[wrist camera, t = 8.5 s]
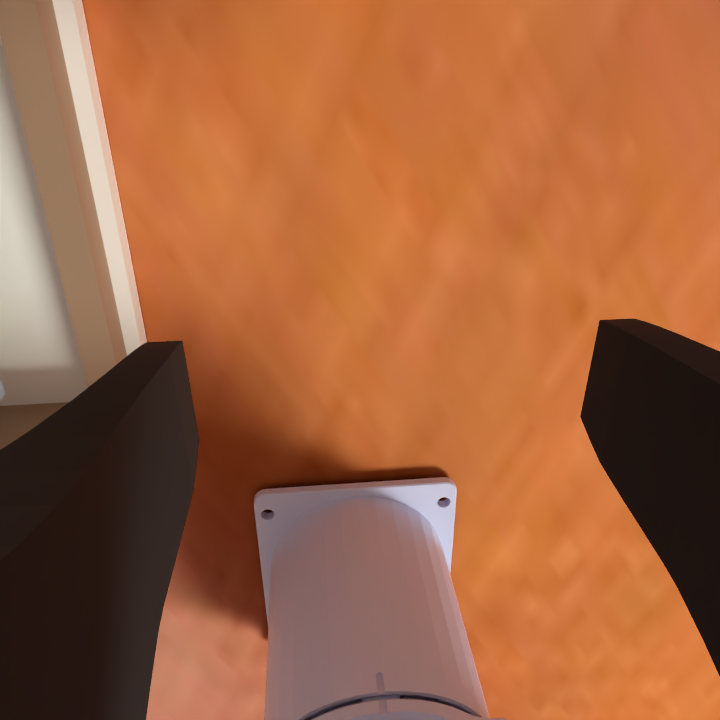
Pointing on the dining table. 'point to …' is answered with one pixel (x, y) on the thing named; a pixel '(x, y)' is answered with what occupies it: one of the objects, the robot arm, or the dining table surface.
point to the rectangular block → (1, 390)
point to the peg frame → (57, 220)
